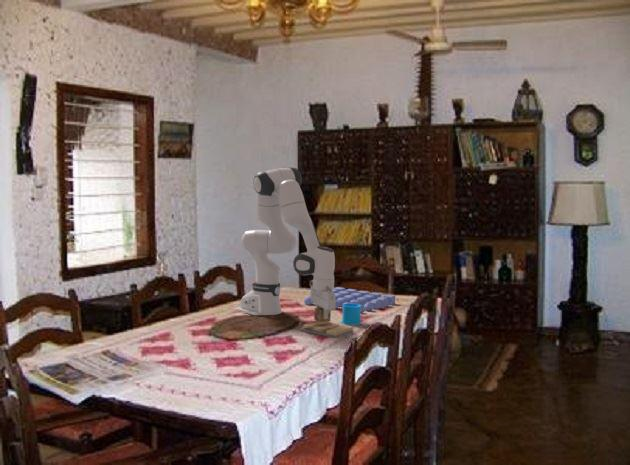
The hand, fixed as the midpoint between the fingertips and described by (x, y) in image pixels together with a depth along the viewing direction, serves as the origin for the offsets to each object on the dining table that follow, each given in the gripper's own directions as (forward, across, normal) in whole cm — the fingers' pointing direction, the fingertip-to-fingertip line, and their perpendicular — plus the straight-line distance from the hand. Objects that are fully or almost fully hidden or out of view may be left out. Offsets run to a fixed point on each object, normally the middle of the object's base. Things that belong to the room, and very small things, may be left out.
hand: (322, 316), depth 295 cm
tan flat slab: (+5, +1, 0) cm, 5 cm away
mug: (+6, +12, -20) cm, 24 cm away
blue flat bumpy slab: (+6, +50, -35) cm, 61 cm away
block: (+2, 0, 0) cm, 2 cm away
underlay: (+6, -1, -2) cm, 6 cm away
